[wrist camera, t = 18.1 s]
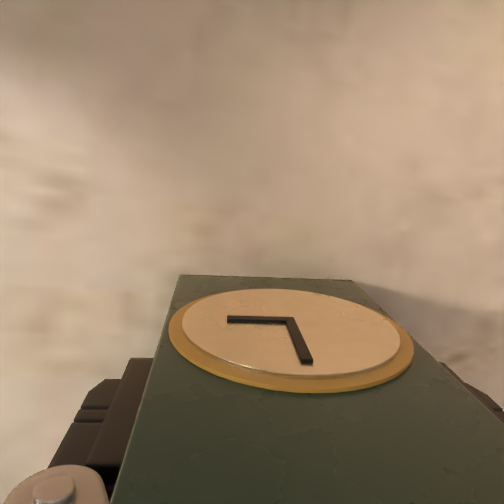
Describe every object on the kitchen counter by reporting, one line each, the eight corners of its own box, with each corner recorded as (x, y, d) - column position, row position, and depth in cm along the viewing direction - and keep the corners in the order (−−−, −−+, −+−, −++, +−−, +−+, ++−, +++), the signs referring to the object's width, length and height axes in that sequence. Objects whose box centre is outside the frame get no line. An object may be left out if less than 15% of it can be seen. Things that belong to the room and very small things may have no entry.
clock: (486, 921, 7) (606, 493, 5) (112, 962, 6) (100, 501, 5) (330, 475, 17) (353, 272, 15) (175, 477, 16) (179, 266, 14)
